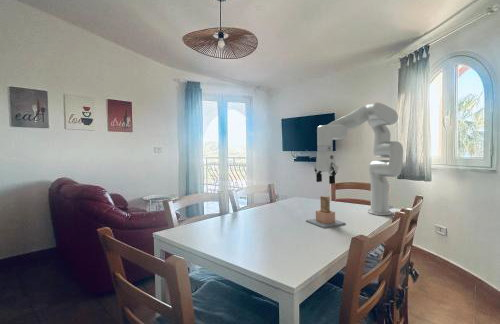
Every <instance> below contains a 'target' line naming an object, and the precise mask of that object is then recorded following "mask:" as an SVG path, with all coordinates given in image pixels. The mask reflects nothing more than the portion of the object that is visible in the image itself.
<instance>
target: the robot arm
mask: <svg viewBox="0 0 500 324" xmlns="http://www.w3.org/2000/svg"><path fill="white" fill-rule="evenodd" d="M398 119H399V115H398V113H397V111H396V109H394V108H392V107H390V106H388V105H386V104H384V103H381V102H371V103H366V104H363V105H361V106H359V107H358V108H357V109H355V110H353V111H351V112H350V113H348V114H346V115H344V116H342V117H340V118H338V119H335V120H333V121H331V122H329V123H328V124H324V125H322V124H321V125H319V126H317V129H316V133H317V134H316V135H317V136H316V137H317V138H316V139H317V141H316V143H317V149H316V150H317V152H316V161H315V164H314V165H313V169H314V172H315V175H316V176H315V177H316V178H315V179H316V181H315V182H316V183H320V182H321V183H322V182H323V174H322V172H323V173H324V172H325V173H328V175H329V177H328V183H329V184H330V185H333V184H336V176H337V173H338V170H339V167H338V166H337V165H336V158H335V157H336V156H335V152H334V150H333V149H334V147H333V146H334V145H333V141H334V140H336V141H337V140H342V139H344V138H346V137H347V135H348V131H350V130H354V129H357V128H358V127H360V126H361V125H363V124H364V123H365V122H367V123H368V125H369V126H370V127H371V129H372V131H373V134H374V137H373V138H374V140H373V151H372V153H373V155H374V157H377V158H380V159H375V160H372V161H371V162H370V163H369V164H368V171H369V176H370V209H368V210H367V213H369V214H370V215H376V216H389V215H390V216H391V215H392V211H391V209H394V206H393V205H389V203H390V201H389V199H390V198H389V194H390V193H389V190H390V189H389V187H390V186H389V181H388V179H387V178H398V177H399V176H400V175H401V172H402V169H403V159H404V147H403V145H402V143H401V142H399V141H397V140H394V141H393V140H392V141H391V131H390V129H389V128H388V126H390V125H395V124H396V123H397V122H398ZM383 158H385V159H383ZM388 159H389V160H388Z"/></svg>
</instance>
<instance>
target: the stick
mask: <svg viewBox="0 0 500 324" xmlns="http://www.w3.org/2000/svg"><path fill="white" fill-rule="evenodd" d="M330 203H331V201H330V196H328V195H321V196H320V210H321V212H323V213H329V212H330V211H331V210H330V209H331V207H330V205H331V204H330Z"/></svg>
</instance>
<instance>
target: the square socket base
mask: <svg viewBox="0 0 500 324" xmlns="http://www.w3.org/2000/svg"><path fill="white" fill-rule="evenodd" d="M305 222H306V223H309V224H311V225H314V226H317V227H318V228H319V227H320V228H322V229H327V228H333V227H338V226H344V225H346V224H347V223H346V222H344V221H340V220H338V219H336V211H332V210H330V212H329V213H323V212H321V209H320V210H315V218H311V219H306V220H305Z"/></svg>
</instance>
